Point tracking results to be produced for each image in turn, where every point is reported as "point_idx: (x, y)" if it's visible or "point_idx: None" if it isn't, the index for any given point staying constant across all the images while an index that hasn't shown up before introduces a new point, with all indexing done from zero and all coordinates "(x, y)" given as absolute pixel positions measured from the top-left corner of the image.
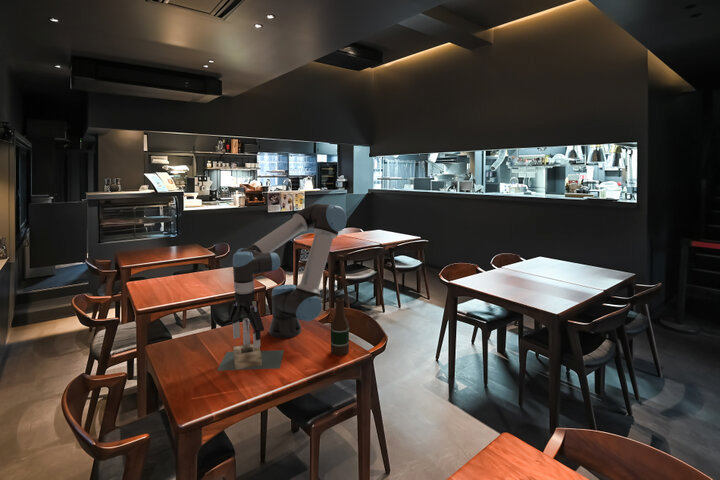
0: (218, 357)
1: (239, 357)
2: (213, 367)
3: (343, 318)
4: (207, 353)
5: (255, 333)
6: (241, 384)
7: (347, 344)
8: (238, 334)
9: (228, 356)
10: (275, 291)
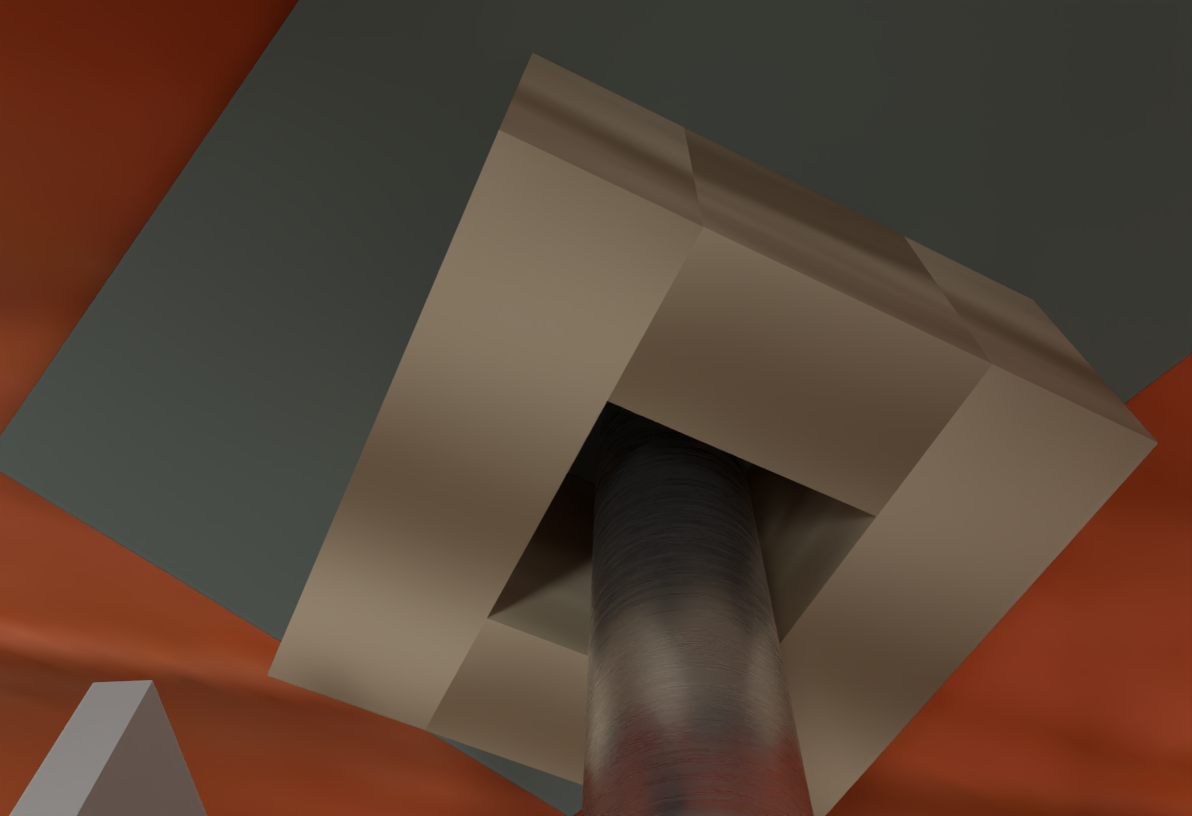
0: (108, 616)
1: (836, 787)
2: (411, 783)
3: None
4: None
5: None
6: (1181, 768)
7: None
8: (121, 809)
9: (205, 528)
10: None
